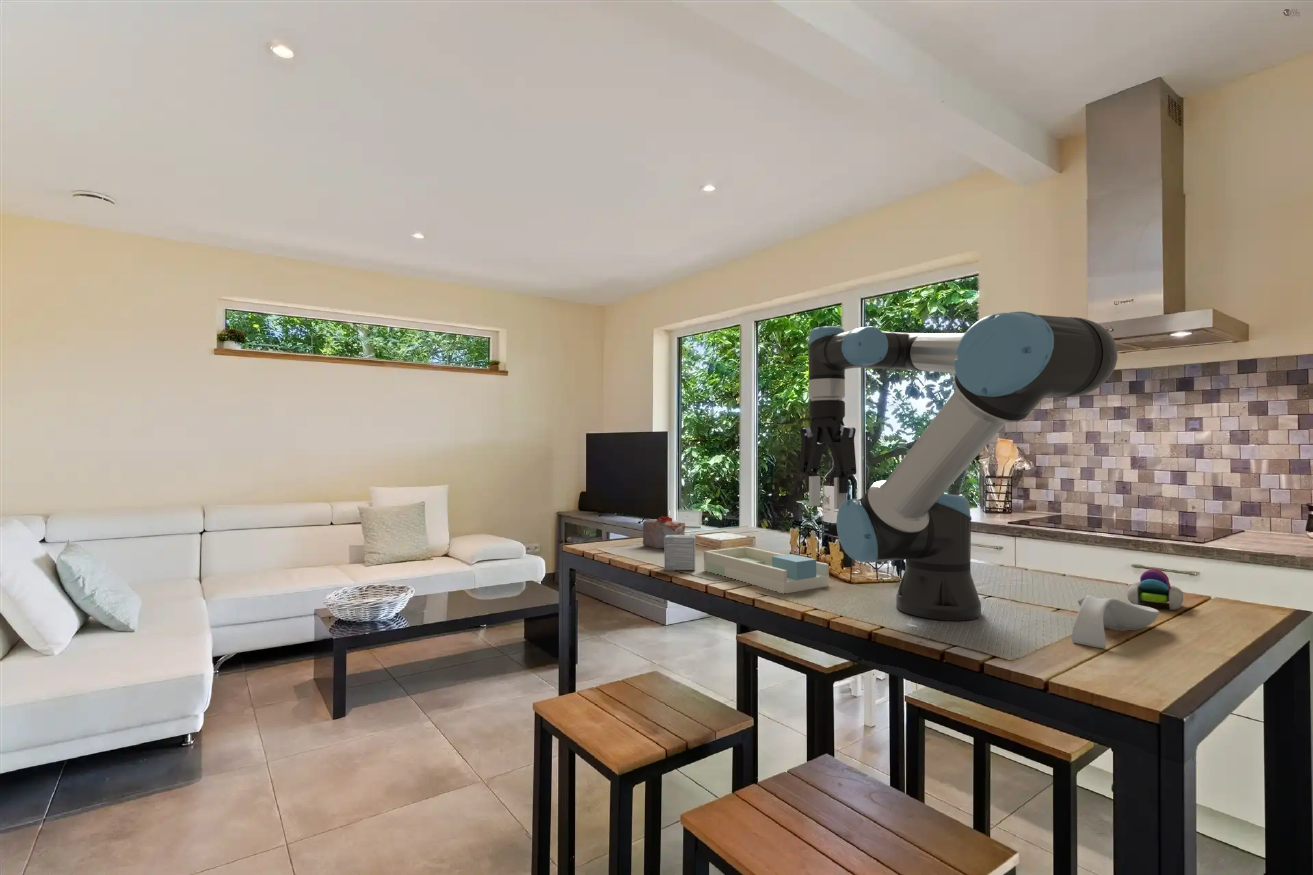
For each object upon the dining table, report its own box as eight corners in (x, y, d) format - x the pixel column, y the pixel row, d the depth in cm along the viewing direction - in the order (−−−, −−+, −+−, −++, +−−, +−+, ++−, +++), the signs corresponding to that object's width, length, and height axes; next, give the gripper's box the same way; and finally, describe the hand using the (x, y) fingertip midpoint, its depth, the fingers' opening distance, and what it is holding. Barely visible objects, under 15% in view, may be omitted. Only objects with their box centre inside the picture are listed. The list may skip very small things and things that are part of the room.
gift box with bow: (689, 548, 196) (689, 516, 196) (673, 551, 190) (673, 518, 190) (654, 543, 205) (654, 513, 205) (639, 547, 198) (639, 515, 199)
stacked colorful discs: (1184, 604, 128) (1183, 569, 128) (1180, 614, 121) (1180, 576, 121) (1132, 597, 133) (1131, 563, 133) (1125, 606, 126) (1125, 570, 126)
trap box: (828, 586, 144) (828, 564, 144) (783, 594, 136) (783, 570, 136) (746, 565, 168) (746, 546, 168) (704, 570, 161) (703, 551, 161)
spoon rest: (1088, 614, 121) (1087, 576, 121) (1165, 627, 113) (1165, 587, 113) (1048, 640, 106) (1048, 597, 106) (1135, 658, 97) (1134, 611, 97)
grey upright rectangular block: (695, 568, 165) (695, 534, 165) (694, 571, 160) (695, 537, 161) (665, 567, 166) (665, 534, 166) (664, 570, 161) (664, 537, 161)
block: (816, 577, 142) (816, 559, 142) (797, 580, 139) (796, 562, 139) (791, 570, 149) (791, 554, 149) (772, 573, 145) (772, 556, 145)
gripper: (875, 397, 129) (875, 510, 129) (806, 402, 146) (806, 502, 145) (850, 396, 125) (851, 512, 125) (782, 401, 142) (782, 504, 141)
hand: (827, 507), depth 135 cm, fingers open, 6 cm apart
